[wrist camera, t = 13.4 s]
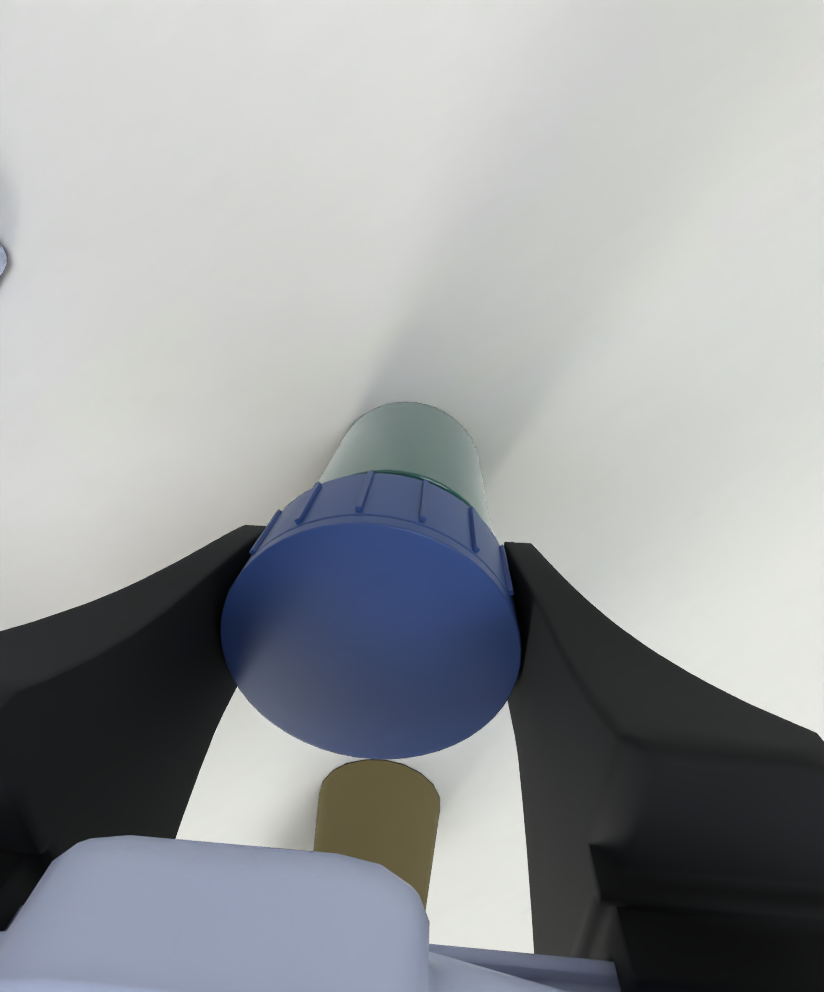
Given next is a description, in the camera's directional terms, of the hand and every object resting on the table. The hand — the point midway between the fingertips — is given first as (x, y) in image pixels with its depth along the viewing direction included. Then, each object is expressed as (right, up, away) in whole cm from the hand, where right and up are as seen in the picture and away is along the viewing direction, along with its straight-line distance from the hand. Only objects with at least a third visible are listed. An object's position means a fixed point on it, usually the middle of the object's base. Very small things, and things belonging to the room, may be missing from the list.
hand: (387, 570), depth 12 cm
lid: (0, -1, -2) cm, 3 cm away
